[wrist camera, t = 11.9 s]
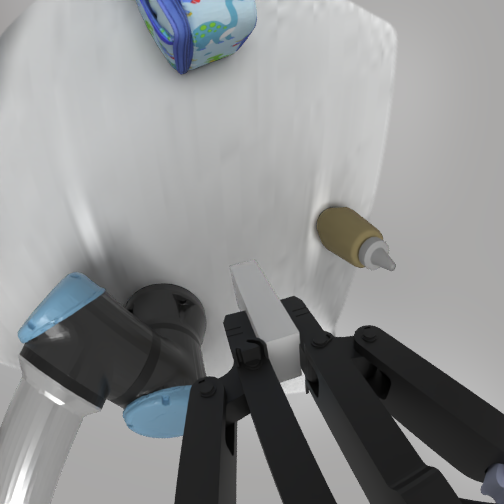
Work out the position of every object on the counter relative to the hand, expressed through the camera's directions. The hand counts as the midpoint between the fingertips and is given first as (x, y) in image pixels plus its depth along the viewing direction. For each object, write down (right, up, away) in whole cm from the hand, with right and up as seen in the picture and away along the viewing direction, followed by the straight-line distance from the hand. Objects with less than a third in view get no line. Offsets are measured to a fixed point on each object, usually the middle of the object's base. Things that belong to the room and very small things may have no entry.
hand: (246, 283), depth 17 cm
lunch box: (-12, +39, +13) cm, 42 cm away
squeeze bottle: (+14, +7, +34) cm, 38 cm away
